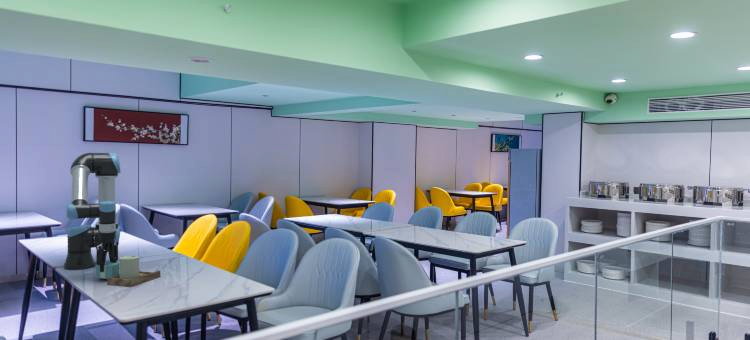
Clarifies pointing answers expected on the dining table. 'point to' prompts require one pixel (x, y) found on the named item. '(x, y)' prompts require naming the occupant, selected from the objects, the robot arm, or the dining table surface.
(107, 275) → the wing block
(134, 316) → the dining table surface
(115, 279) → the cradle jig
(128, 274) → the can
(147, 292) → the dining table surface
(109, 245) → the robot arm
